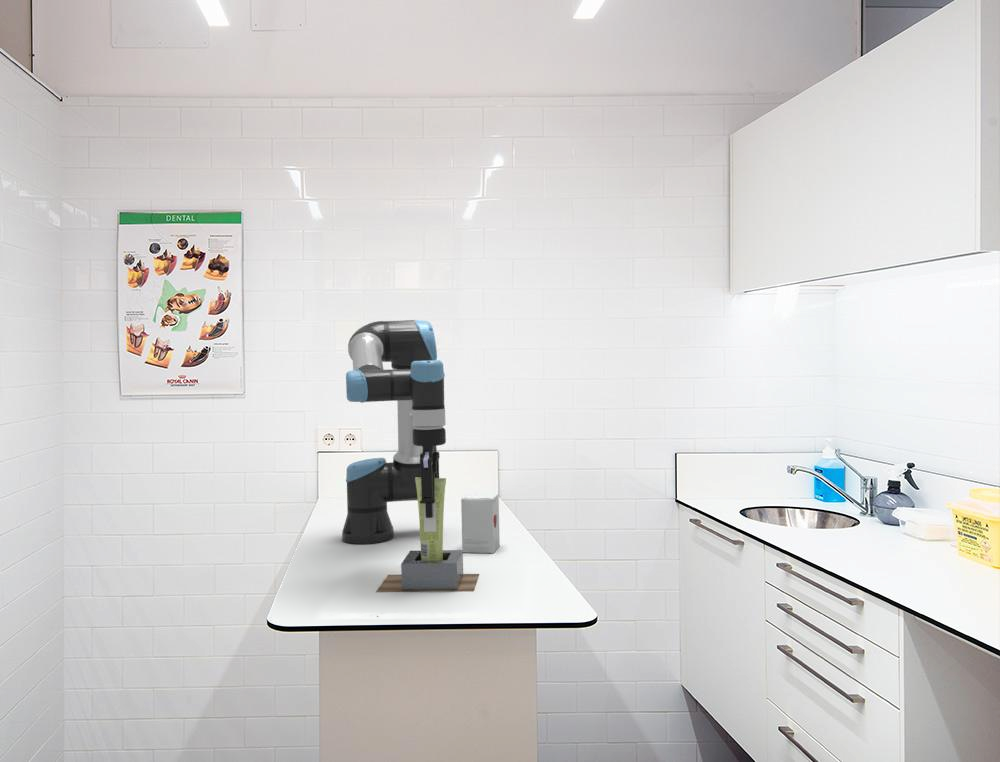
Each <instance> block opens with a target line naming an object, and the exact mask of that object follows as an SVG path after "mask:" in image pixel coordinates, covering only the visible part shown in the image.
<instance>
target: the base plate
mask: <svg viewBox="0 0 1000 762" xmlns="http://www.w3.org/2000/svg"><path fill="white" fill-rule="evenodd" d="M479 577H480V573H463V577H462V580H461V583H460V585H459V588H458V590H402V577H401V574H388V575H387V576H386V577H385V579H384V580H383V581H382V583H381V584H380V585H379V586H378V587H377V589H376V591H375V593H423V592H424V593H428V592H429V593H434V592H439V593H441V592H443V593H446V592H448V593H449V592H450V593H451V592H453V593H455V592H474V591H475V589H476V586H477V583H478V580H479Z"/></svg>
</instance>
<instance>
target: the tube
mask: <svg viewBox="0 0 1000 762" xmlns="http://www.w3.org/2000/svg"><path fill="white" fill-rule="evenodd" d="M415 481H416V488H417V497H418V501H417V506H418V507H417V508H418V519H419V535H420V537H419V538H420V551H421V561H440V560H443V549H444V546H443V544H444V540H443V539H444V513H445V512H444V510H445V493H446V485H447V478H446V477H443V478H442V477H439V478H435V491H434V499H435V502H434V503H436V532H424V510H423V503H421V504H420V501H422V500H421V498H422V491H421V477H415ZM426 497H429V496H426Z"/></svg>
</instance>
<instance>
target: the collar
mask: <svg viewBox="0 0 1000 762" xmlns="http://www.w3.org/2000/svg"><path fill="white" fill-rule="evenodd" d="M400 571H401V574H400V575H401V577H402V590H458V588H459V585H460V583H461V580H462V577H463V574H464V552H463V550H462V549H444V550H443V560H440V561H421V550H409V552H408V553H407V555H406V556H405V558H404V559H403V561H402V562H401V564H400Z"/></svg>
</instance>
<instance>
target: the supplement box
mask: <svg viewBox="0 0 1000 762" xmlns="http://www.w3.org/2000/svg"><path fill="white" fill-rule="evenodd" d="M499 499H500V498H499V492H498V493H497V492H490V493H489V492H468V493H466V495H464V496H463V497H461V498H460V503H461V506H460V508H461V511H460V512H461V550H463V553H471V554H473V553H474V554H477V553H478V554H494V553H495V552H496V551H497V550H498V549H499V547H501V545H500V543H501V542H500V509H499V508H500V500H499Z"/></svg>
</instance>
